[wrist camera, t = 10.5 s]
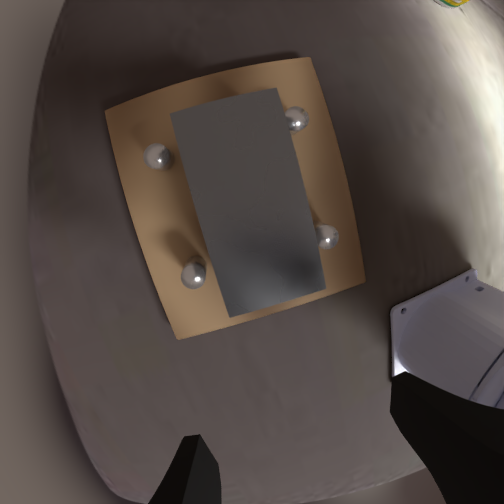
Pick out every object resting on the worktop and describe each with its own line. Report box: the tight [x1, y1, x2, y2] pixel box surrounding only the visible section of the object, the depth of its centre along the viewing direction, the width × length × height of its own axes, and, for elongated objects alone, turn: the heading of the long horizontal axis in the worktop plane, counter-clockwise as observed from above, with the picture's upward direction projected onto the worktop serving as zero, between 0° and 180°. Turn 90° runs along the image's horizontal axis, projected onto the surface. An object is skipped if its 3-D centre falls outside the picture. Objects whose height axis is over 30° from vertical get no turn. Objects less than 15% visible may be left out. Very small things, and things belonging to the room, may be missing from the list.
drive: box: [170, 88, 326, 318], centre depth 13 cm, size 4×8×5 cm, turn 15°
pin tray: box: [105, 57, 366, 340], centre depth 15 cm, size 12×14×3 cm
